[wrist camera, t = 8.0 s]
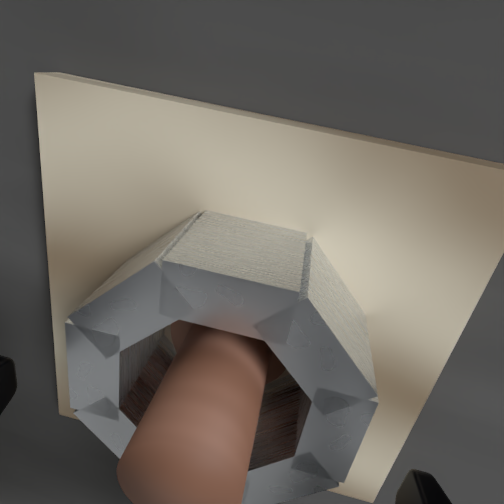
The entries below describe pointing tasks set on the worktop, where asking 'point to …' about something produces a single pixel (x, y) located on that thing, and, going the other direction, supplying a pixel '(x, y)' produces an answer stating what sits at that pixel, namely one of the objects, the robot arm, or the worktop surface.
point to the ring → (240, 322)
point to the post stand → (270, 212)
